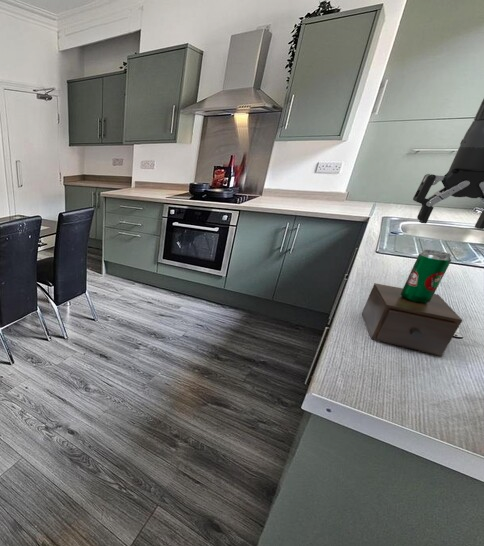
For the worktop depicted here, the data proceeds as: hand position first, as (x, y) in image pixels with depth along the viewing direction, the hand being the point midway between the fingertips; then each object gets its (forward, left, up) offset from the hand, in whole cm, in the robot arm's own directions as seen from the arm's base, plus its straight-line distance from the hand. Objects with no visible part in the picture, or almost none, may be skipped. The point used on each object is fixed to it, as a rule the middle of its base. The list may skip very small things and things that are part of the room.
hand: (449, 225), depth 68 cm
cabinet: (0, 0, -28) cm, 28 cm away
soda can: (0, 0, -19) cm, 18 cm away
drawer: (0, +2, -27) cm, 27 cm away
